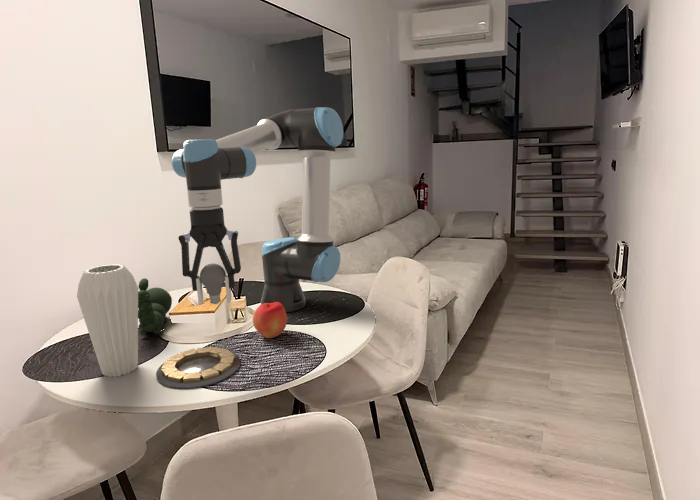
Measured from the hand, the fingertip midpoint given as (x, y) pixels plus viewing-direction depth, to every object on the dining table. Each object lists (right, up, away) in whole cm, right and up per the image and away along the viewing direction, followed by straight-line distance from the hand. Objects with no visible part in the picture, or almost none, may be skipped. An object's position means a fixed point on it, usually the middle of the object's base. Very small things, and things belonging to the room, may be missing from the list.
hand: (215, 301), depth 115 cm
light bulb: (0, -1, 0) cm, 1 cm away
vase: (-25, -18, +4) cm, 31 cm away
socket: (-5, -17, +3) cm, 18 cm away
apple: (+10, -13, +22) cm, 27 cm away
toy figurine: (-27, -12, +31) cm, 43 cm away
